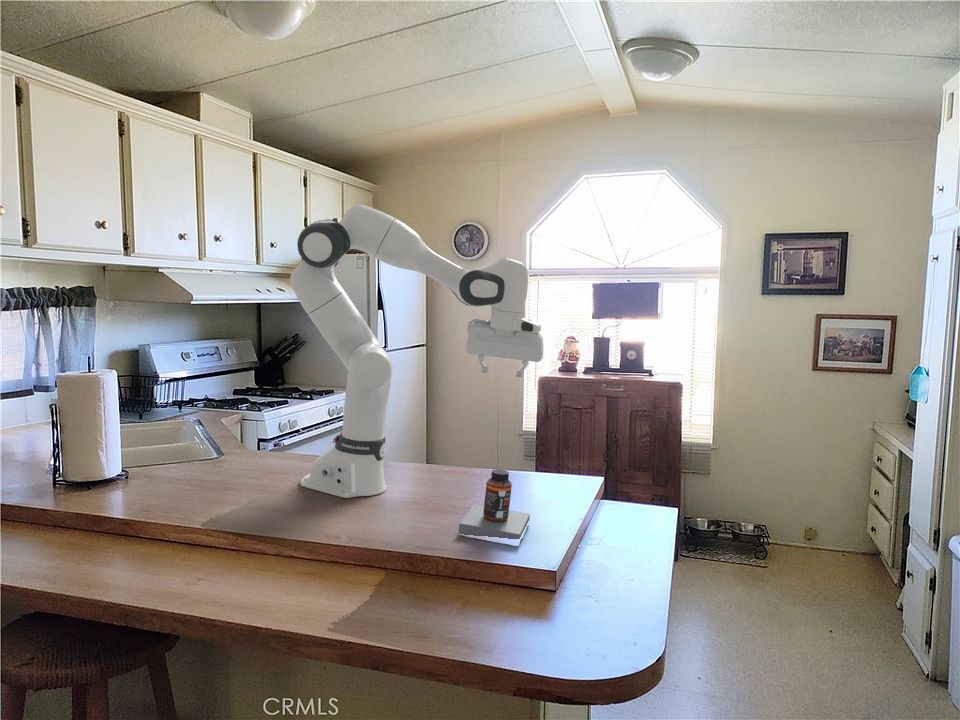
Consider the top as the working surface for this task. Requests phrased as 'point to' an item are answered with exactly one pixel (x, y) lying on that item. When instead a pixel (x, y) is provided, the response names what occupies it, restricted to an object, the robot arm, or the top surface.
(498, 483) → the supplement bottle
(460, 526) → the plinth
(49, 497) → the top surface
